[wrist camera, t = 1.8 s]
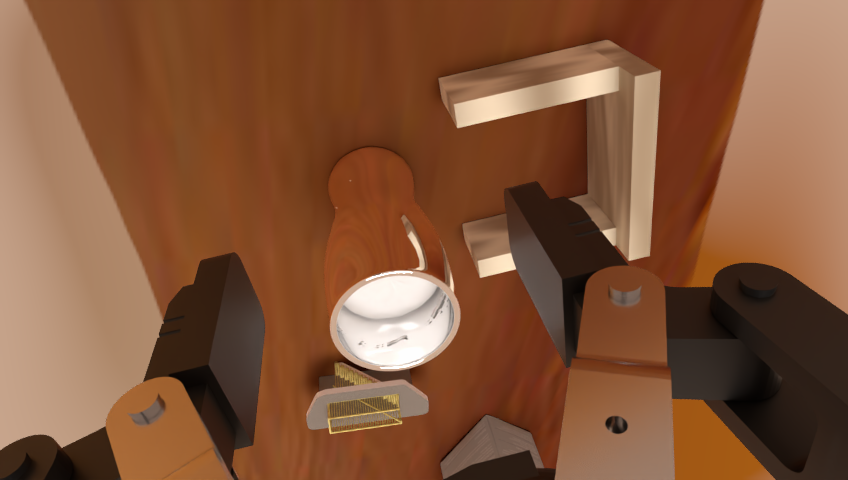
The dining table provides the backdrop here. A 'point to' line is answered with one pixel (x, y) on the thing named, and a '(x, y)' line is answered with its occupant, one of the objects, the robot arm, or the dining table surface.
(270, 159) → the dining table surface
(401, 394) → the platform
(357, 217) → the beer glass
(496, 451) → the skincare box
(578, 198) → the bracket
